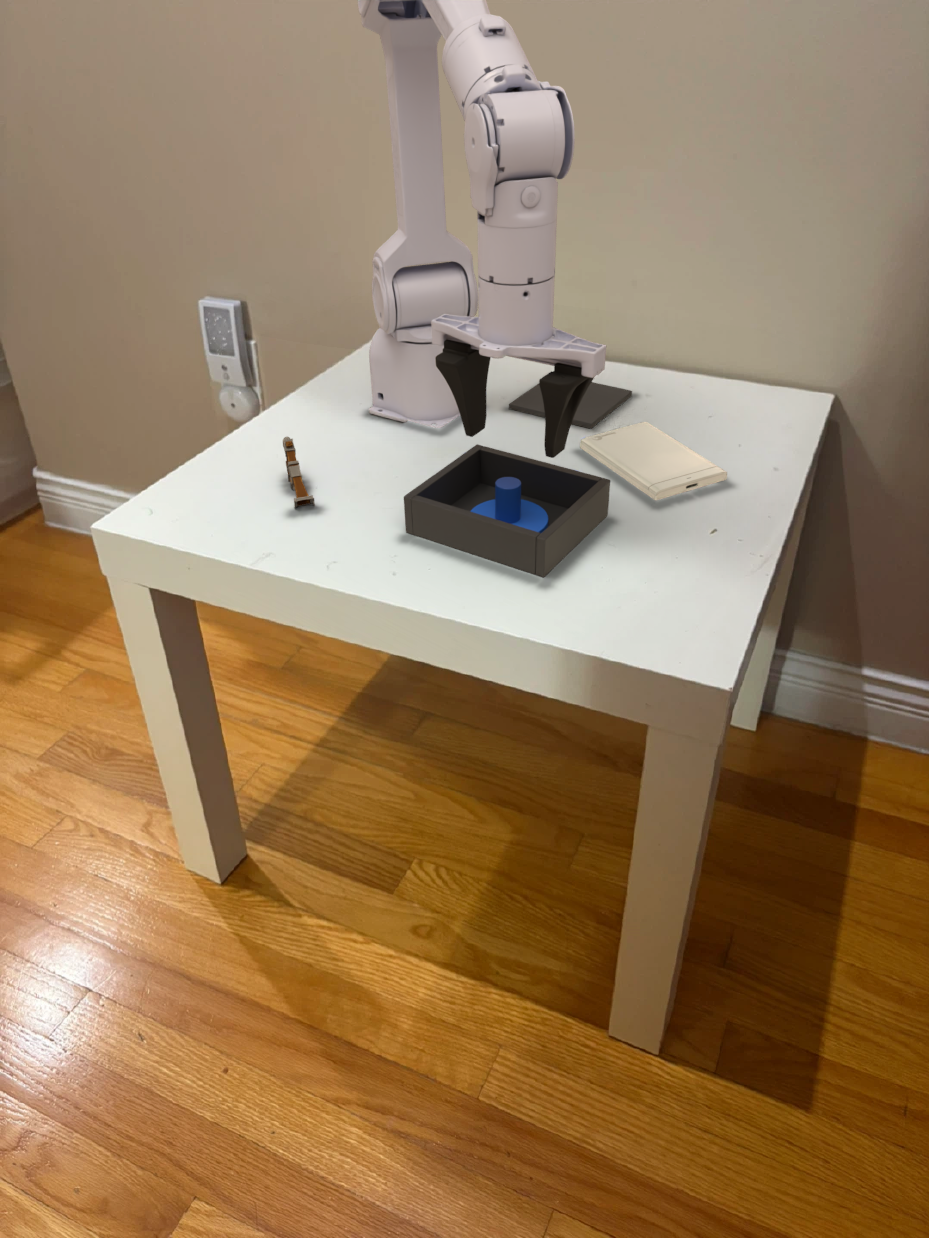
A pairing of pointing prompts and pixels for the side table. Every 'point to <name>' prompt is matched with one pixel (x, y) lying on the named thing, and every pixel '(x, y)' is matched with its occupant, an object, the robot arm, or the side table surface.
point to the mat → (590, 409)
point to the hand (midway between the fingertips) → (514, 442)
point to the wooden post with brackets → (295, 474)
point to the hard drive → (652, 460)
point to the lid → (513, 507)
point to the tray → (470, 482)
